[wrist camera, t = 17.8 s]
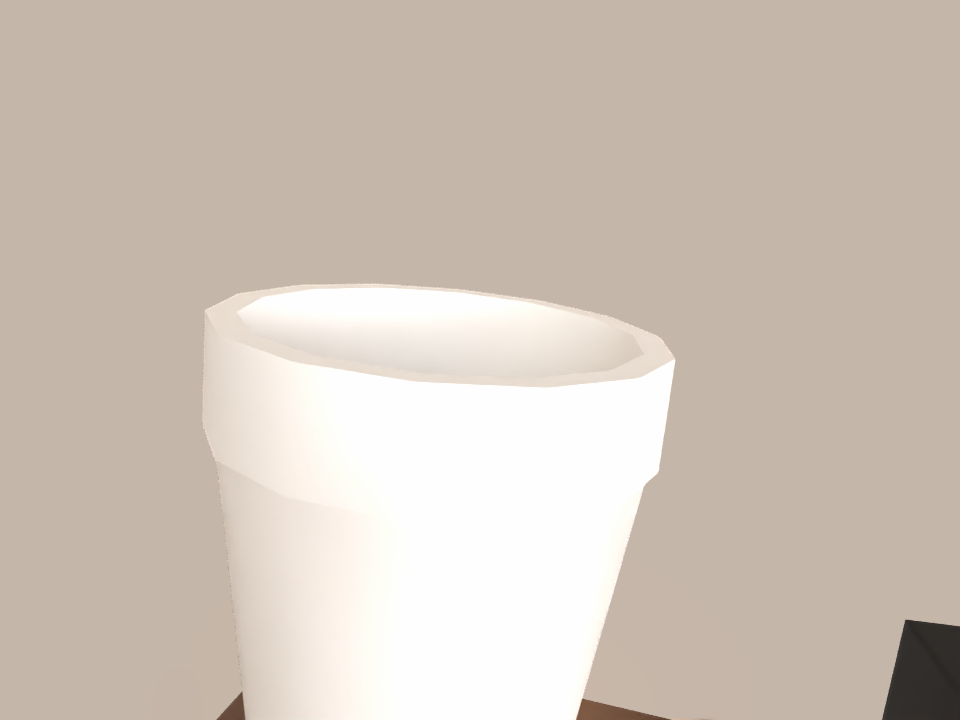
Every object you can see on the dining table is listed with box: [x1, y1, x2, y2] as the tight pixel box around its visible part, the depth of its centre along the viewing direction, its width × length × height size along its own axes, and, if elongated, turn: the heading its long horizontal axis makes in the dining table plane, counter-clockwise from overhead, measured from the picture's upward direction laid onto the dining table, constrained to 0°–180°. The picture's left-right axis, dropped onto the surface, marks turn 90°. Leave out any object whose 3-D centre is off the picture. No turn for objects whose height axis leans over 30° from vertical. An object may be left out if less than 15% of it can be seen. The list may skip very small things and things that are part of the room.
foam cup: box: [202, 284, 675, 720], centre depth 20 cm, size 10×9×13 cm
